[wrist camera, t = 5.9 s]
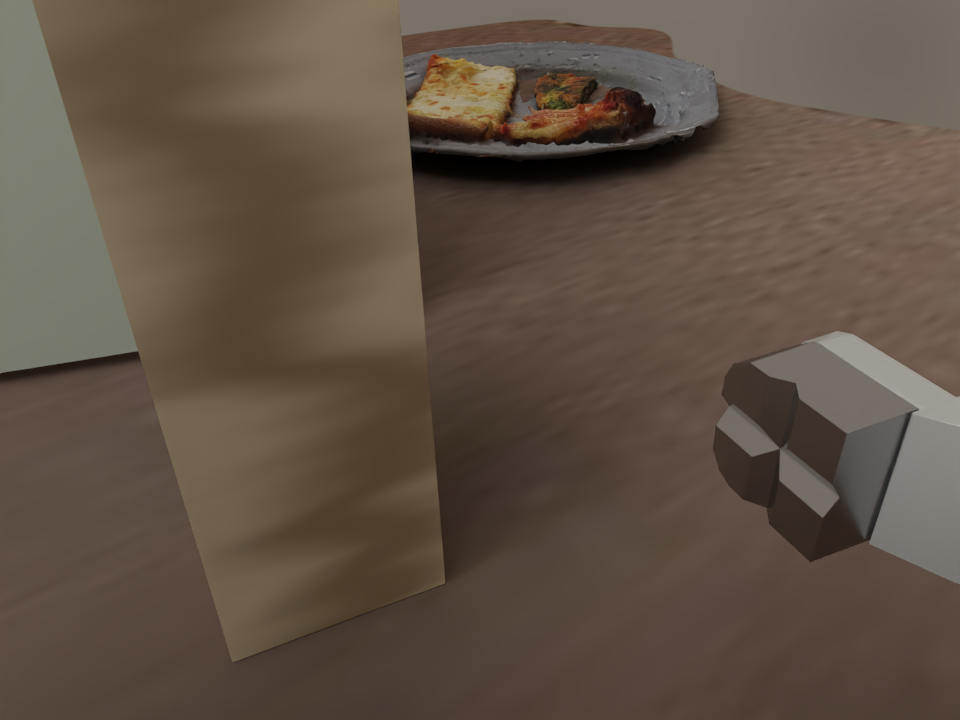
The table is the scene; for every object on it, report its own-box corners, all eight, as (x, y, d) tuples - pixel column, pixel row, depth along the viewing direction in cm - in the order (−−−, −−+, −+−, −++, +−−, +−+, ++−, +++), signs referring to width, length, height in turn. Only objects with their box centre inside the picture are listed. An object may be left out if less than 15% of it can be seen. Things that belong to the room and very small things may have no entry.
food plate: (723, 199, 42) (731, 128, 40) (280, 185, 46) (269, 120, 44) (708, 75, 63) (713, 25, 61) (403, 74, 67) (399, 27, 65)
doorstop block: (376, 460, 26) (297, -140, 17) (445, 583, 22) (388, -127, 13) (194, 517, 24) (5, -122, 16) (232, 662, 20) (1, -101, 11)
